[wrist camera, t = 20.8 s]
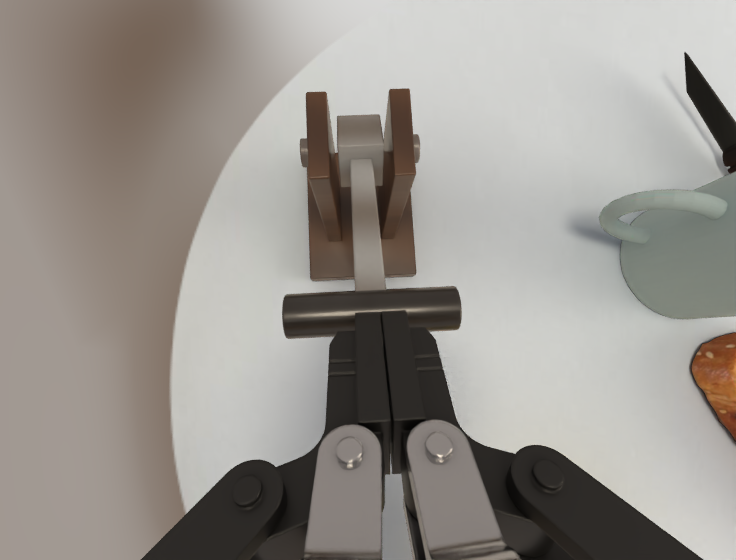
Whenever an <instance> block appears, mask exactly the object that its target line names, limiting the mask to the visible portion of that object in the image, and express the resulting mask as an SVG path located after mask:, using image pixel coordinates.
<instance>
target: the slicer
mask: <svg viewBox="0 0 736 560" xmlns="http://www.w3.org/2000/svg"><path fill="white" fill-rule="evenodd" d="M306 117H307V138H306V139H301V140H300V155H301V162H302V166H303V167H307V181H308V215H309V250H310V278H311V280H312V281H324V280H345V279H355V274H354V250H353V226H352V202H351V187H341V186H340V173H339V161H338V153H335V149H334V142H333V135H332V128H331V121H330V114H329V106H328V99H327V93H326V92H307V93H306ZM383 141H384V163H383V185H382V186H375V189H376V198H377V208H378V218H379V227H380V237H381V246H382V256H383V265H384V275H385V278H387V277H408V276H414V275H415V274H416V262H415V248H414V234H413V220H412V206H411V192H410V190H411V187H412V184H413V181H414V178H415V175H416V167H415V163H417V162H418V161H419V157H420V140H419V136H418V135H417V134H413V127H412V113H411V100H410V90H409V89H390V90H389V96H388V105H387V114H386V122H385V131H384V140H383Z"/></svg>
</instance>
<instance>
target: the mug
mask: <svg viewBox="0 0 736 560" xmlns="http://www.w3.org/2000/svg"><path fill="white" fill-rule="evenodd" d="M644 210H648V211H646V212H644V213H643V214H641V215H640V216H638V217H637V218H636V219H635V220H634V221H633V222H632V223H631V225H629V224H626V223H624V222H622V221H620V220H619V219H618V218H619V217H621V216H623V215H625V214H628V213H632V212H637V211H644ZM599 221H600V225H601V227H602V228H603V229H604V230H605V231H606V232H607V233H608V234H610V235H612V236H614V237H616V238H619V239H622V244H621V250H620V261H621V268H622V272H623V275H624V278H625V280H626V282H627V284H628V286H629V288H630V289H631V291H632V292H633V293H634V295H635V296H636V297H637V298H638V299H639V300H640V301H641V302H642V303H643V304H644V305H645V306H647V307H648V308H650V309H651V310H653V311H655V312H657V313H659V314H661V315H664V316H666V317H670V318H676V319H696V318H713V317H730V316H736V172H734V173H731V174H729V175H727V176H725V177H722V178H720V179H718V180H716V181H713V182H711V183H709V184H706V185H704V186H702V187H700V188H697V189H695V190H693V191H688V190H653V191H645V192H639V193H635V194H631V195H627V196H624V197H621V198H619V199H617V200H614V201H612V202H611V203H610V204H608V205H607V206H606V207H604V209H603V210H602V212H601V214H600V216H599Z"/></svg>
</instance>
